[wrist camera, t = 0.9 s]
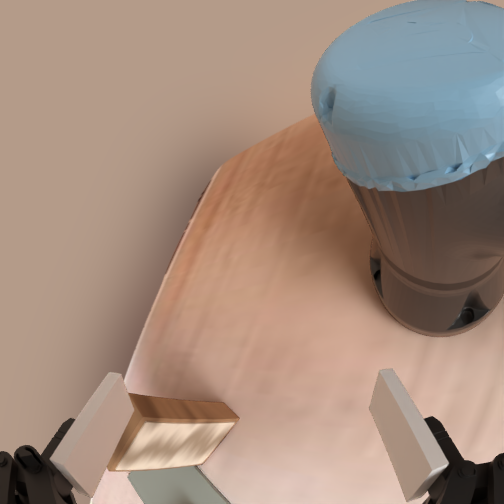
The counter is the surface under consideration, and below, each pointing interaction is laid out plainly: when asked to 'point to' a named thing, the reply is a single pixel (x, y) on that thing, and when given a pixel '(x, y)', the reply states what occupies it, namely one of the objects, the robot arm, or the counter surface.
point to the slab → (170, 433)
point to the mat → (175, 486)
